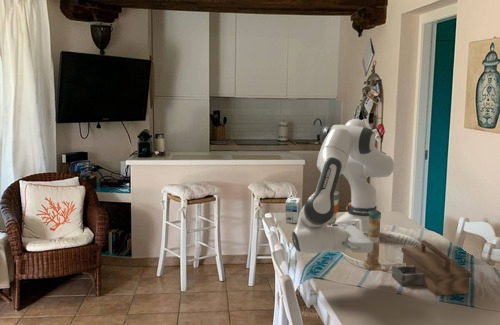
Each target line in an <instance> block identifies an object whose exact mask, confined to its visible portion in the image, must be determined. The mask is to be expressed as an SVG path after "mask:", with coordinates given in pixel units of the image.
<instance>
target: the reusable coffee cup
mask: <svg viewBox="0 0 500 325" xmlns="http://www.w3.org/2000/svg"><path fill="white" fill-rule="evenodd" d="M339 200H340V192H339V191H337V190H335V192H334V207H335V210H334V215H333V217H332V218H331V219H330V220H329V221H327V222H326V225H328V224H329V225H330V224H335V221H336V219H337V213H338V212H339V206H340V203H339Z"/></svg>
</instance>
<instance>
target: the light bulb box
mask: <svg viewBox="0 0 500 325" xmlns="http://www.w3.org/2000/svg"><path fill="white" fill-rule="evenodd" d="M300 211H301V197H290V196H289V197H287V199H286V201H285V223H286V224H287V223H288V224H289V223H290V224H297V223H298V218H299V213H300Z"/></svg>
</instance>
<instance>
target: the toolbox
mask: <svg viewBox="0 0 500 325" xmlns="http://www.w3.org/2000/svg"><path fill="white" fill-rule="evenodd" d="M401 252H402V254H403V255H402V264H403V263H406V266H403V265H395V266H392V269H391V270H392V271H391V277H392V278H393V279H394V280H395V281H396V282H397V283H398V284H399V285H400V286H401V287H407V286H408V287H409V286H421V285H422V286H424V287H425V288H426V289H428V290H429V292H431V293H432V294H433V295H434V296H447V295H448V296H449V295H463V294H469V291H470V278H473V273H472V272H471V271H470V270H468V269H467V268H466V267H464V266H463V265H461V264H460V263H458V262H457V261H456V260H454V259H452V258H451V257H450V256H448V255H446V254H445V253H444V252H443V251H441V250H440V249H438V248H437V247H435V246H434V245H432V244H430V242H427V240H420V246H411V247H410V246H409V247H407V246H406V247H401Z"/></svg>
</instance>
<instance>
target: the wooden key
mask: <svg viewBox="0 0 500 325" xmlns="http://www.w3.org/2000/svg"><path fill="white" fill-rule="evenodd" d="M381 219H382V212H381V211H379V210H374V211H369V230H368V238H373V237H378V238H379V239H380V236H381V235H380V234H381V231H380V230H381ZM379 252H380V241H379V242H378V243H373V251H372V252H370V253H367V255H366V257H367V259H366V260H364V264H363V266H364V267H365V268H366V269H367V271H369V272H371V271H382V264H381V263H380V262H379V260H380V259H379V258H380V257H379V256H380V254H379Z"/></svg>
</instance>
